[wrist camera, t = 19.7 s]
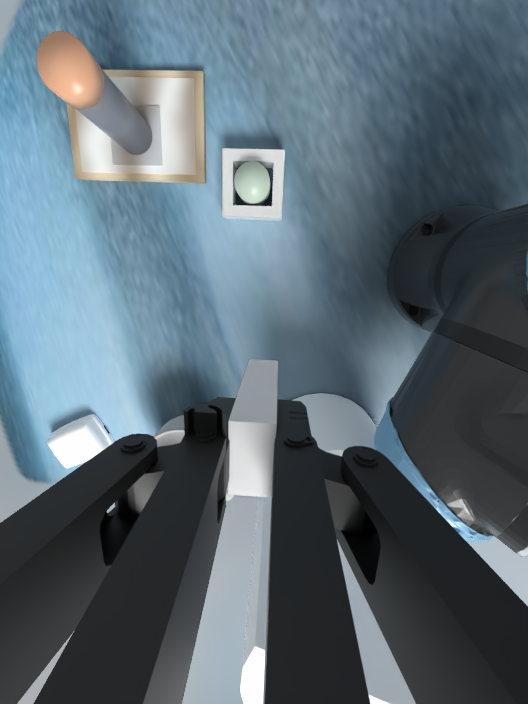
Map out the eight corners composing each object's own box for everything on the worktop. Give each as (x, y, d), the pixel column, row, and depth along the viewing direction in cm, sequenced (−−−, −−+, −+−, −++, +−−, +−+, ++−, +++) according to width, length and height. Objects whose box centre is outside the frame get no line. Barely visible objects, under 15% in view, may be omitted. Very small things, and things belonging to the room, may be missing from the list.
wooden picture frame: (204, 75, 34) (202, 69, 33) (206, 183, 37) (203, 180, 36) (67, 73, 35) (60, 67, 34) (79, 179, 38) (73, 177, 37)
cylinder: (337, 508, 49) (405, 800, 23) (243, 462, 48) (197, 717, 21) (401, 426, 45) (581, 672, 18) (298, 372, 43) (329, 553, 16)
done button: (271, 170, 36) (270, 161, 33) (269, 206, 37) (269, 201, 34) (238, 169, 36) (234, 160, 33) (237, 205, 37) (234, 200, 35)
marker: (153, 116, 35) (89, 33, 23) (152, 157, 36) (90, 98, 24) (117, 113, 35) (34, 28, 23) (117, 154, 36) (38, 93, 24)
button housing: (284, 157, 36) (284, 149, 34) (281, 220, 38) (281, 217, 36) (226, 156, 36) (222, 148, 34) (226, 219, 38) (222, 215, 36)
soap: (96, 409, 47) (84, 418, 44) (119, 445, 49) (110, 456, 46) (50, 431, 49) (36, 440, 46) (75, 464, 50) (63, 476, 47)
